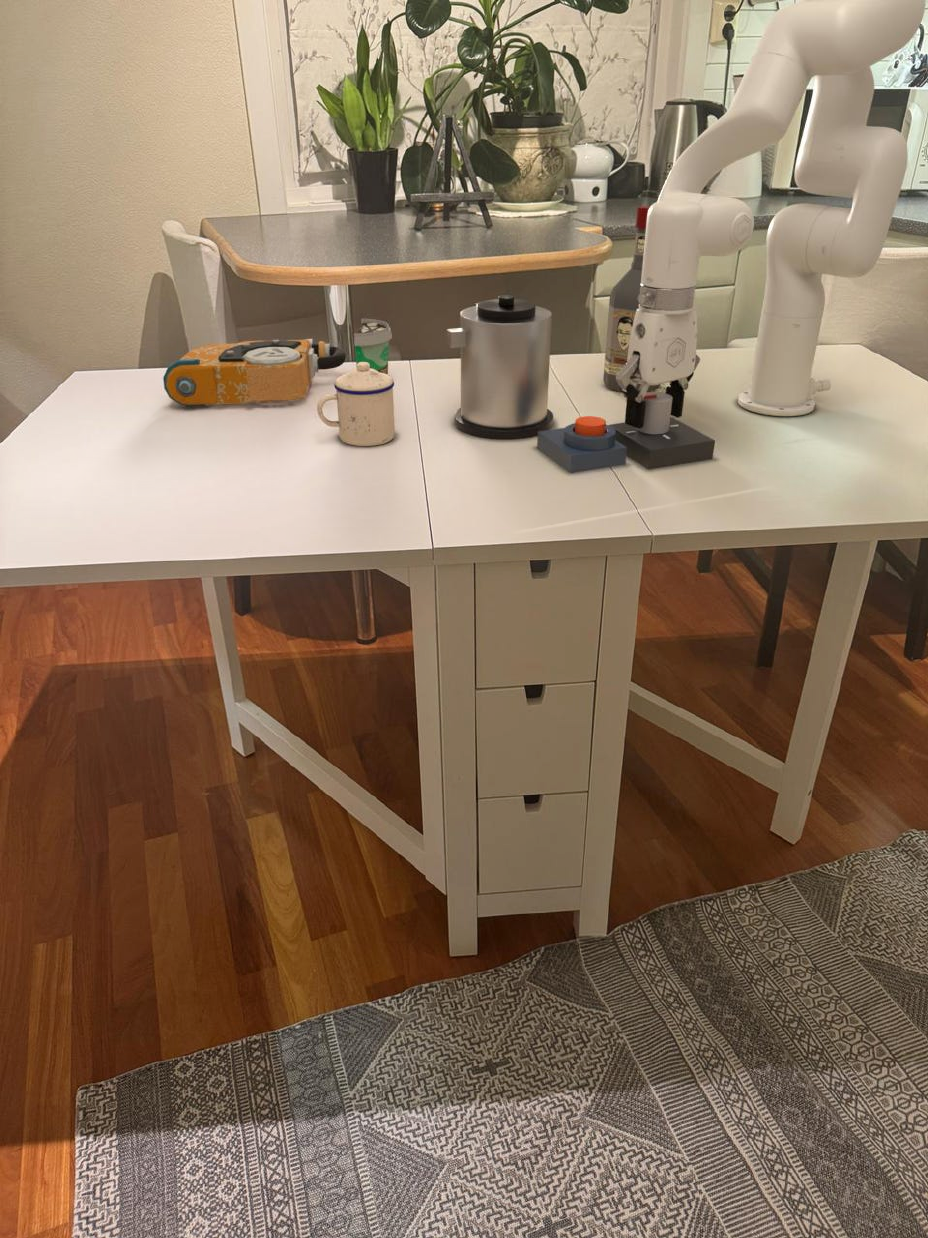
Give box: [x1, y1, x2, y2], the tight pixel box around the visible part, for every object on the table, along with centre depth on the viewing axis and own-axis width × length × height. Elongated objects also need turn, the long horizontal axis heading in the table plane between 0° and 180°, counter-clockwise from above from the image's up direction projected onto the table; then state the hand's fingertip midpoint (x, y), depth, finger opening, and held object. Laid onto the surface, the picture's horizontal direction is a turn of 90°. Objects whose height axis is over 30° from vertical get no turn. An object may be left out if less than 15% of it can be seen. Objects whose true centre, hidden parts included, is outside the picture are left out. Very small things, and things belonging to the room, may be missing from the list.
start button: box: [574, 415, 607, 436], centre depth 132 cm, size 4×4×2 cm
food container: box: [353, 318, 393, 375], centre depth 167 cm, size 12×6×10 cm, turn 179°
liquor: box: [603, 205, 661, 393], centre depth 158 cm, size 9×9×30 cm
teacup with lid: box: [316, 362, 396, 447], centre depth 140 cm, size 12×9×12 cm
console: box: [608, 416, 716, 470], centre depth 137 cm, size 11×12×3 cm
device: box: [162, 338, 347, 408], centre depth 162 cm, size 23×8×30 cm
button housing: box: [536, 422, 627, 474], centre depth 135 cm, size 9×11×4 cm
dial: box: [637, 391, 672, 435], centre depth 136 cm, size 5×5×5 cm
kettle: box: [446, 294, 554, 441], centre depth 145 cm, size 17×20×20 cm
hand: (653, 419), depth 136 cm, fingers open, 7 cm apart
